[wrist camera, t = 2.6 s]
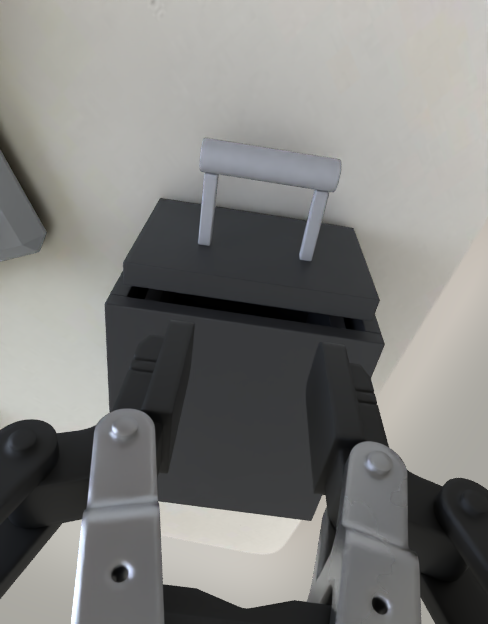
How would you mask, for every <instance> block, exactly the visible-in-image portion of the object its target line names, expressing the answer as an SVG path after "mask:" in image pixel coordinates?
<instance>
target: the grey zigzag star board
mask: <svg viewBox="0 0 488 624" xmlns="http://www.w3.org/2000/svg"><path fill="white" fill-rule="evenodd" d="M46 233H47V232H46V230H45V228H44V226H43V225H42V223H41V221H40V219H39V218H38V216H37V214H36V212H35V210H34V209H33V207H32V205H31V203H30V202H29V200H28V198H27V196H26V194H25V193H24V191H23V189H22V187H21V186H20V184H19V182H18V180H17V179H16V177H15V175H14V173H13V171H12V170H11V168H10V166H9V164H8V163H7V161H6V159H5V157H4V155H3V154H2V152H1V150H0V262H1V261H5V260H9V259H13V258H17V257H21V256H25V255H29V254H33V253H37V252H39V251H40V249H41V246H42V244H43V241H44V239H45V236H46Z"/></svg>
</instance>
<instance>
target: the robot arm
mask: <svg viewBox="0 0 488 624" xmlns="http://www.w3.org/2000/svg"><path fill="white" fill-rule="evenodd" d="M194 330H195V323H190V322H183V321H176V320H170V322H169V325H168V328H167V331H166V334H165V336H161V335H154V334H149V335H148V336H147V337H146V338H145V339H144V340H143V341H141V342H140V343H139V344H138V347H137V349H136V352H135V354H134V357H133V359H132V362H131V364H130V367H129V370H128V372H127V375H126V377H125V380H124V382H123V385H122V387H121V390H120V392H119V395H118V398H117V400H116V403H115V405H114V408H113V410H112V412H110V413H108V414H107V415H105V416H104V417H103V418H102V419H101V420H100V421H99V422H98V423H97V425H95V426H93V427H91V428H88V429H84V430H79V431H72V432H64V433H57V434H56V431H55V430H54V428H53V427H52V426H51V425H50V424H48V423H46V422H44V421H40V420H32V419H31V420H22V421H18V422H15V423H12V424H10V425H8V426H6V427H4V428H3V429H2V430H0V599H1V597H2V596H3V595H4V594H5V592H6V591H7V590H8V589H9V588H10V586H11V585H12V584H13V583H14V582H15V580H16V579H17V578H18V577H19V575H20V574H21V573H22V572H23V571H24V569H25V568H26V567H27V566H28V565H29V563H30V562H31V561H32V560H33V558H34V557H35V556H36V555H37V554H38V552H39V551H40V550H41V549H42V547H43V546H44V545H45V544H46V543H47V541H48V540H49V539H50V538H51V537H52V535H53V534H54V533H55V532H56V530H57V529H58V528H59V527H60V525H61V524H62V523H65V522H70V521H75V520H80V519H82V525H81V534H80V544H79V553H78V564H77V572H76V582H75V592H74V602H73V611H72V620H71V624H421V602H420V597H421V599H422V601H423V602H424V604H425V606H426V608H427V610H428V611H429V613H430V615H431V617H432V619H433V620H434V622H435V624H488V490H487V489H486V488H484V487H483V486H481V485H479V484H478V483H475V482H474V481H471V480H468V479H464V478H454V479H450V480H449V481H447V482H446V483H445V484H444V486H440V485H438V484H435V483H433V482H431V481H428V480H426V479H423V478H421V477H419V476H417V475H414V474H412V473H411V472H409V471H408V470H407V469H406V466H405V464H404V462H403V461H402V459H401V458H400V457H399V455H398V454H396V453H395V452H394V451H393V450H392V449H390V448H389V446H388V443H387V439H386V435H385V431H384V427H383V423H382V419H381V416H380V412H379V408H378V405H377V401H376V397H375V394H374V389H373V385H372V382H371V378H370V376H369V375H368V374H367V372H366V371H365V370H364V369H363V367H362V366H361V365H360V364H354V363H349V358H348V354H347V349H346V346H345V345H340V344H333V343H326V342H320V343H319V344H318V347H317V350H316V353H315V356H314V360H313V363H312V366H311V370H310V373H309V376H308V380H307V385H306V395H305V397H306V410H307V422H308V434H309V445H310V457H311V469H312V480H313V492H314V494H320V495H326V502H327V508H326V510H325V512H324V515H323V518H322V524H321V530H320V537H319V543H318V549H317V555H316V562H315V568H314V573H313V580H312V585H311V589H310V593H309V596H308V600H307V602H303V601H295V600H294V601H288V602H283V603H277V604H272V605H266V606H260V607H255V608H249V609H246V608H241V607H238V606H236V605H234V604H231V603H229V602H226V601H224V600H222V599H220V598H217V597H215V596H213V595H210V594H208V593H205V592H203V591H201V590H199V589H196V588H188V587H180V586H172V585H163V581H162V580H163V578H162V554H161V529H160V508H159V503H158V493H157V478H158V474H159V473H164V474H168V471H169V467H170V462H171V458H172V453H173V449H174V444H175V440H176V435H177V431H178V426H179V421H180V417H181V412H182V408H183V403H184V399H185V394H186V390H187V385H188V381H189V375H190V369H191V361H192V351H193V340H194Z"/></svg>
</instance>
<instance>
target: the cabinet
mask: <svg viewBox="0 0 488 624" xmlns="http://www.w3.org/2000/svg"><path fill="white" fill-rule="evenodd" d="M148 290H149V288H142V287H136V286H129V285H124V277H123V272H122V273H121V275H120V277H119V279H118V281H117V282H116V284H115V286H114V288H113V290H112V291H111V293H110V295H109V297H108V299H107V301H106V302H105V323H106V344H107V366H108V388H109V410H110V412H112V410H113V408H114V405H115V403H116V400H117V398H118V395H119V392H120V390H121V387H122V385H123V382H124V380H125V377H126V375H127V372H128V370H129V367H130V364H131V362H132V359H133V357H134V354H135V352H136V349H137V347H138V344H139V343H140V342H141V341H143V340H144V339H145V338H146V337H147V336H148V335H149V334H154V335H161V336H165V334H166V331H167V328H168V325H169V322H170V320H176V321H183V322H190V323H195V330H194V340H193V351H192V361H191V369H190V375H189V381H188V385H187V390H186V394H185V399H184V403H183V408H182V412H181V417H180V421H179V426H178V431H177V435H176V440H175V444H174V449H173V453H172V458H171V462H170V467H169V471H168V474H164V473H159V474H158V478H157V493H158V501H161V502H168V503H176V504H184V505H192V506H199V507H207V508H215V509H223V510H231V511H238V512H246V513H254V514H262V515H269V516H277V517H285V518H293V519H300V520H308V521H311V520H312V518H313V515H314V513H315V511H316V508H317V506H318V504H319V501H320V499H321V496H322V495H320V494H314V492H313V480H312V469H311V457H310V445H309V434H308V422H307V410H306V397H305V395H306V385H307V380H308V376H309V373H310V370H311V366H312V363H313V360H314V356H315V353H316V350H317V347H318V344H319V343H320V342H326V343H333V344H340V345H345V346H346V349H347V354H348V358H349V363H354V364H360V365H361V366H362V367H363V369H364V370H365V371H366V372H367V374H368V375H369V376H370V378H371V376H372V374H373V372H374V369H375V367H376V364H377V362H378V360H379V357H380V355H381V352H382V350H383V348H384V345H385V343H384V340H383V337H382V335H381V331H380V328H379V325H378V322H377V319H376V316H375V314H374V317H373V319H372V321H367V320H360V319H353V318H346V317H343V318H344V323H345V327H346V329H343V328H336V327H329V326H322V325H315V324H308V323H302V322H295V321H288V320H281V319H274V318H267V317H261V316H254V315H247V314H240V313H233V312H226V311H219V310H213V309H206V308H199V307H192V306H185V305H178V304H171V303H165V302H158V301H151V300H144V299H145V297H146V295H147V292H148Z"/></svg>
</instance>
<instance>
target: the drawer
mask: <svg viewBox="0 0 488 624" xmlns="http://www.w3.org/2000/svg"><path fill="white" fill-rule="evenodd" d="M200 171H202V172H205V174H204V184H203V195H202V204H195V203H189V202H182V201H176V200H170V199H163V198H160V199H159V201H158V203H157V205H156V206H155V208H154V210H153V212H152V213H151V215H150V217H149V219H148V220H147V222H146V224H145V225H144V227H143V229H142V231H141V232H140V234H139V236H138V238H137V239H136V241H135V243H134V244H133V246H132V248H131V250H130V251H129V253H128V255H127V257H126V258H125V260H124V262H123V277H124V285H129V286H136V287H142V288H149V290H148V292H147V295H146V297H145V299H144V300H151V301H158V302H165V303H171V304H178V305H185V306H192V307H199V308H206V309H213V310H219V311H226V312H233V313H240V314H247V315H254V316H261V317H267V318H274V319H281V320H288V321H295V322H302V323H308V324H315V325H322V326H329V327H336V328H343V329H346V327H345V323H344V318H343V317H346V318H353V319H360V320H367V321H372V319H373V317H374V314H375V312H376V309H377V306H378V304H379V301H380V299H379V297H378V294H377V291H376V288H375V286H374V283H373V280H372V278H371V275H370V272H369V269H368V267H367V264H366V261H365V258H364V256H363V253H362V250H361V248H360V245H359V242H358V239H357V237H356V234H355V231H354V228H350V227H344V226H337V225H331V224H324V223H321V222H322V219H323V215H324V211H325V207H326V203H327V199H328V195H329V192H334V191H335V190H336V188H337V185H338V182H339V179H340V174H341V160H340V159H334V158H328V157H322V156H315V155H309V154H303V153H297V152H291V151H284V150H278V149H272V148H266V147H259V146H253V145H247V144H241V143H235V142H228V141H222V140H216V139H210V138H204V139H203V142H202V147H201V154H200ZM219 174H221V175H227V176H233V177H240V178H246V179H252V180H259V181H265V182H271V183H278V184H284V185H290V186H297V187H303V188H309V189H315V190H314V194H313V198H312V202H311V207H310V211H309V215H308V219H307V221H305V220H299V219H292V218H286V217H279V216H273V215H266V214H260V213H253V212H247V211H241V210H234V209H228V208H221V207H215V203H216V194H217V185H218V176H219Z"/></svg>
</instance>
